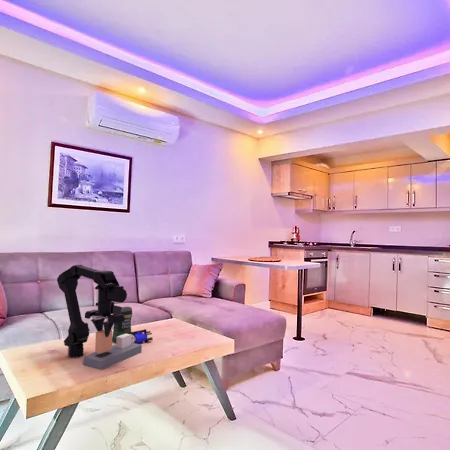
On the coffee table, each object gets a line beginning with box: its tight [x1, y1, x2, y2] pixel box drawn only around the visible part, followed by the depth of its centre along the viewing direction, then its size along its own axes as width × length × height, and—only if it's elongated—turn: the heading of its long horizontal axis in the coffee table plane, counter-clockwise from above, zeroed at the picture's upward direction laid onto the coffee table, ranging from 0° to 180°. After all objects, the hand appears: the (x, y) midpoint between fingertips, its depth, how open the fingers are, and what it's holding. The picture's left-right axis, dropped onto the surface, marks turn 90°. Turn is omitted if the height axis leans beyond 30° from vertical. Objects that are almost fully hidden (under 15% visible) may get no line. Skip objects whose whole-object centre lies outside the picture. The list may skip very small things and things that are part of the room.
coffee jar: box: [112, 306, 133, 345], centre depth 176 cm, size 10×8×19 cm
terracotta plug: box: [94, 329, 113, 353], centre depth 146 cm, size 4×6×8 cm, turn 152°
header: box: [82, 343, 143, 371], centre depth 151 cm, size 11×24×4 cm, turn 152°
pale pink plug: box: [115, 334, 131, 350], centre depth 157 cm, size 4×6×8 cm, turn 152°
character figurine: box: [126, 328, 153, 345], centre depth 173 cm, size 8×7×15 cm
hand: (104, 336), depth 146 cm, fingers closed on terracotta plug, 3 cm apart
